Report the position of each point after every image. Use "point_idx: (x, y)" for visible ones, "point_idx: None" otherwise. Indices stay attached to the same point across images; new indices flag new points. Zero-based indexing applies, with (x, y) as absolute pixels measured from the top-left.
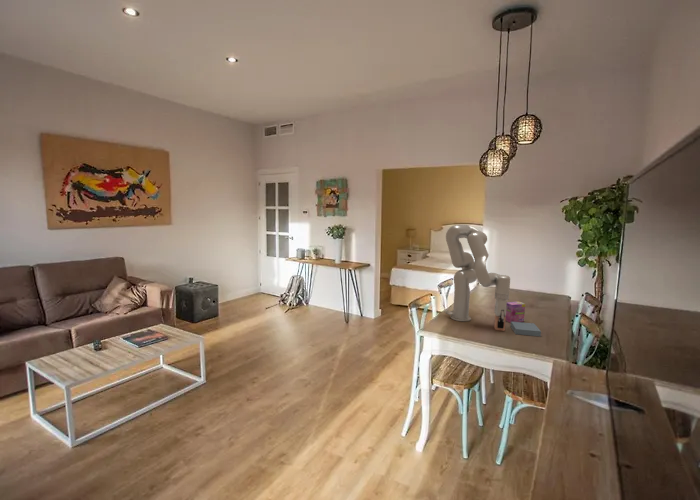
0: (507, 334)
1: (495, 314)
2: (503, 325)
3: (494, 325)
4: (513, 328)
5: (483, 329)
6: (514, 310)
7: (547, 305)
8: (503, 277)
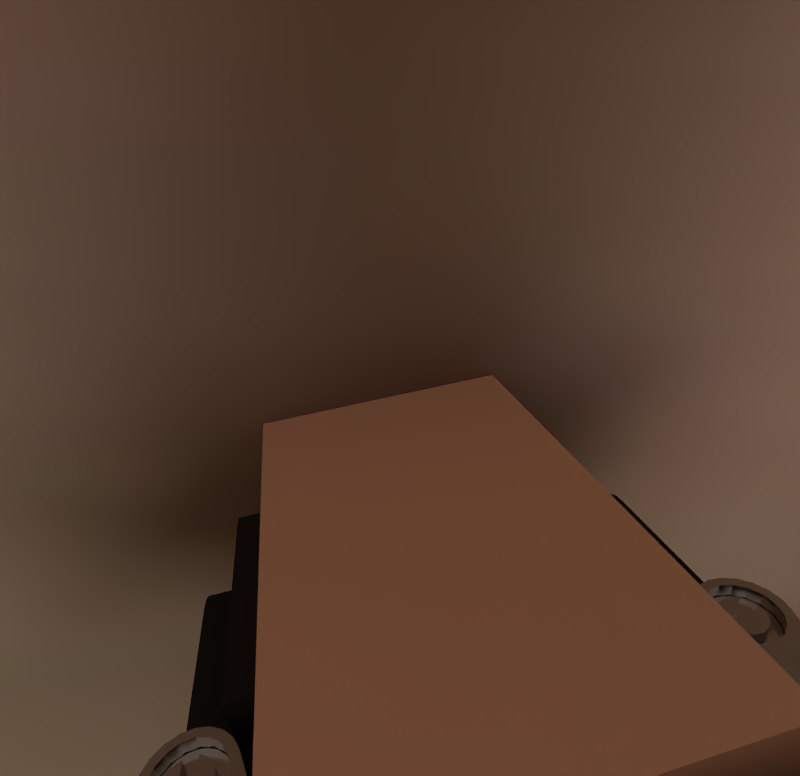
0: (49, 682)
1: (772, 743)
2: None
3: (482, 406)
4: None
5: (71, 44)
6: None
7: None
8: None
